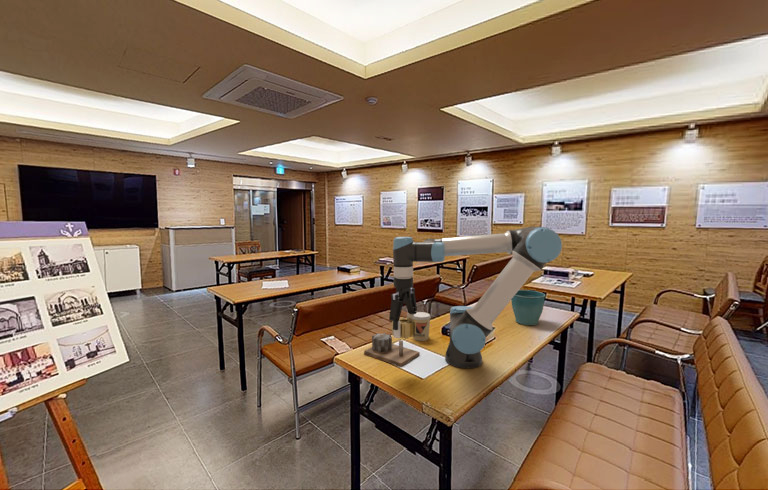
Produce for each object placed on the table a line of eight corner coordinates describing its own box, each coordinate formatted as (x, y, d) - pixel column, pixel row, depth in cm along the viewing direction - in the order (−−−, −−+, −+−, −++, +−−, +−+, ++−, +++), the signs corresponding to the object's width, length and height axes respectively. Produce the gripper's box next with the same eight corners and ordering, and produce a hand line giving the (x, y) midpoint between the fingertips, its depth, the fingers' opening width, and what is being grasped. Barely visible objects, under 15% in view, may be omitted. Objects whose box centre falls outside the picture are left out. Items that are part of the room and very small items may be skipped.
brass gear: (420, 333, 130) (420, 319, 129) (407, 340, 122) (407, 326, 121) (400, 328, 135) (400, 315, 134) (387, 335, 127) (387, 321, 127)
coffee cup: (409, 339, 162) (409, 316, 161) (414, 333, 171) (414, 311, 170) (427, 342, 159) (427, 318, 158) (432, 336, 168) (432, 313, 167)
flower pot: (505, 323, 186) (506, 294, 185) (513, 315, 201) (514, 288, 199) (540, 329, 176) (542, 298, 174) (546, 321, 191) (547, 292, 189)
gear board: (419, 355, 144) (419, 337, 144) (401, 366, 134) (401, 347, 133) (383, 344, 157) (383, 328, 156) (364, 354, 146) (364, 336, 145)
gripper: (409, 271, 138) (410, 324, 140) (378, 280, 120) (379, 340, 122) (425, 273, 133) (425, 327, 135) (395, 282, 115) (396, 344, 117)
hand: (403, 333), depth 128 cm, fingers closed on brass gear, 9 cm apart
